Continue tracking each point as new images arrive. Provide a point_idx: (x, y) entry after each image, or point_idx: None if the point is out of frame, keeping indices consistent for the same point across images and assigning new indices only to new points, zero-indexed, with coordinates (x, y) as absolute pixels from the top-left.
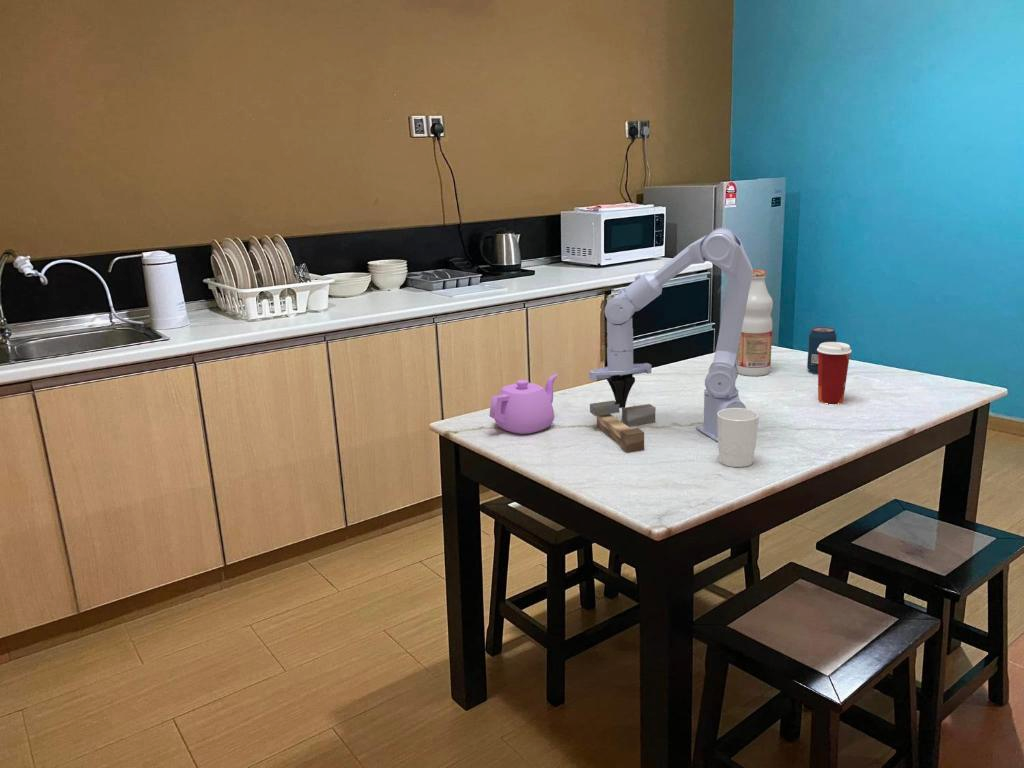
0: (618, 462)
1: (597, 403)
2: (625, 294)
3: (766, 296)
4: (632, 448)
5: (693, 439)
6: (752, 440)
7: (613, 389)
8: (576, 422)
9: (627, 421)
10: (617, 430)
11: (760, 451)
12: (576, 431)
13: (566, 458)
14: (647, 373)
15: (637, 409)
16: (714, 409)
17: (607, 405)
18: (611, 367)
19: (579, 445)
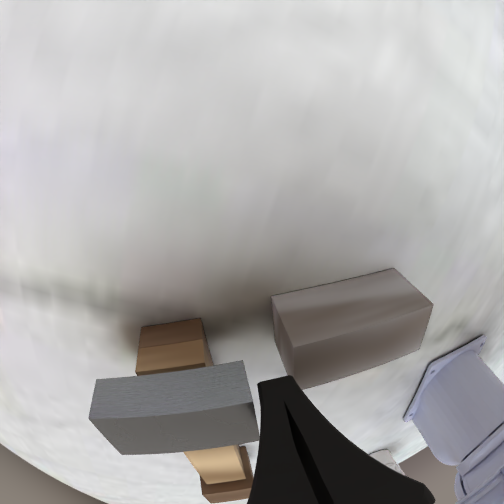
0: (178, 482)
1: (135, 424)
2: None
3: None
4: None
5: (380, 413)
6: None
7: (264, 477)
8: (49, 244)
9: (280, 355)
10: (198, 471)
11: (417, 432)
12: (59, 345)
13: (72, 458)
14: (485, 480)
15: (349, 370)
16: (446, 446)
17: (190, 448)
18: None
19: (87, 428)
